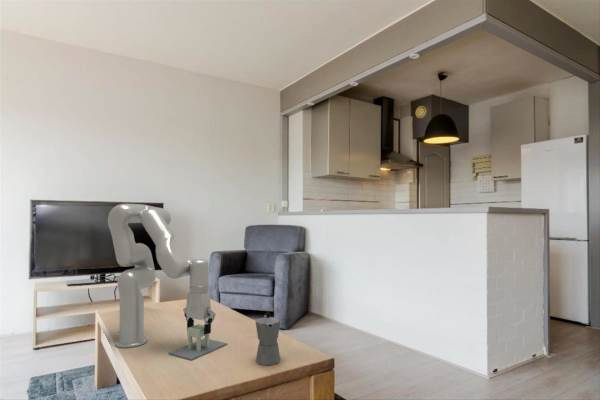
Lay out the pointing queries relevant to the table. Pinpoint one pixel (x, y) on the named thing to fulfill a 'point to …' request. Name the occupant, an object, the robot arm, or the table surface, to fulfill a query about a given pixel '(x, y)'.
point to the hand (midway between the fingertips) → (198, 331)
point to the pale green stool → (197, 336)
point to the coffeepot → (268, 340)
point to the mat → (193, 354)
